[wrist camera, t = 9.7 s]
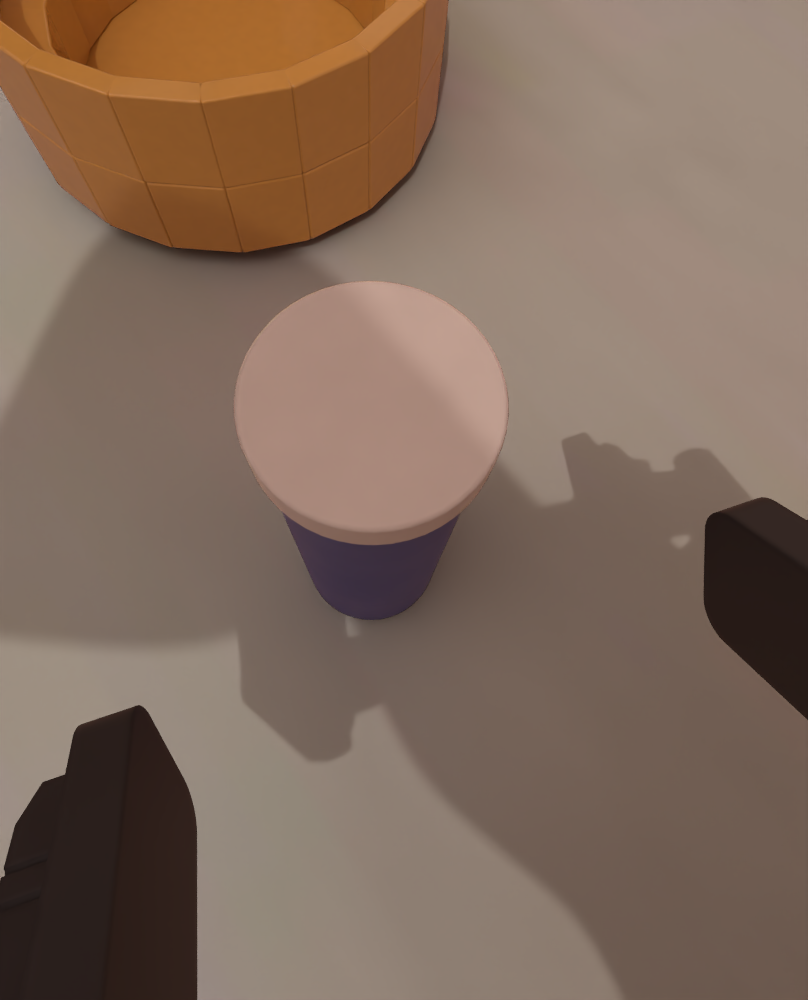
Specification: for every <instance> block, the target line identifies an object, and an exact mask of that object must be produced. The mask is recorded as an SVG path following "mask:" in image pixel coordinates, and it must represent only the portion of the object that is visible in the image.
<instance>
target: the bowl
mask: <svg viewBox="0 0 808 1000" xmlns="http://www.w3.org/2000/svg"><path fill="white" fill-rule="evenodd" d="M448 1H449V0H0V88H1V89H2V91H3V93H4V95H5V96H6V98H7V100H8V101H9V103H10V105H11V106H12V108H13V110H14V111H15V113H16V115H17V116H18V118H19V120H20V121H21V123H22V125H23V127H24V128H25V130H26V132H27V133H28V135H29V137H30V138H31V140H32V142H33V143H34V145H35V147H36V148H37V150H38V151H39V153H40V155H41V156H42V158H43V160H44V161H45V163H46V165H47V166H48V168H49V169H50V171H51V173H52V174H53V176H54V178H55V179H56V181H57V183H58V184H59V185H60V186H61V187H62V188H63V189H64V190H66V191H67V192H68V193H69V194H71V195H72V196H73V197H75V198H76V199H77V200H78V201H80V202H81V203H82V204H84V205H85V206H86V207H87V208H89V209H90V210H91V211H93V212H94V213H95V214H96V215H98V216H99V217H100V218H102V219H103V220H104V221H105V222H107V223H109V224H110V225H111V226H114V227H116V228H119V229H122V230H125V231H127V232H130V233H133V234H136V235H138V236H141V237H144V238H146V239H149V240H152V241H155V242H157V243H160V244H163V245H166V246H168V247H171V248H172V247H175V248H185V249H198V250H212V251H225V252H239V253H240V252H242V251H243V252H250V251H256V250H261V249H266V248H271V247H276V246H281V245H287V244H292V243H297V242H302V241H307V240H310V238H315V237H317V236H319V235H321V234H323V233H325V232H327V231H329V230H331V229H333V228H335V227H337V226H339V225H341V224H343V223H345V222H347V221H349V220H351V219H353V218H355V217H357V216H359V215H361V214H363V213H365V212H367V211H368V210H369V209H372V208H373V207H374V206H375V205H376V204H377V203H378V202H379V201H380V200H381V199H382V198H383V197H384V196H385V195H386V194H387V193H388V192H389V191H390V190H391V189H392V188H393V187H394V186H395V185H396V184H397V183H398V182H399V181H400V180H401V179H402V178H403V177H404V176H405V175H406V174H407V173H408V172H409V171H410V170H411V168H412V167H413V166H414V164H415V162H416V160H417V158H418V156H419V154H420V151H421V149H422V147H423V145H424V143H425V141H426V139H427V137H428V135H429V132H430V130H431V128H432V126H433V124H434V122H435V118H436V111H437V101H438V92H439V83H440V74H441V65H442V56H443V47H444V38H445V29H446V20H447V11H448Z"/></svg>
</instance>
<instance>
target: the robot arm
mask: <svg viewBox="0 0 808 1000" xmlns="http://www.w3.org/2000/svg"><path fill="white" fill-rule="evenodd" d="M704 605H705V610H706V613H707V616H708V618H709V621H710V623H711V625H712V626H713V628H714V630H715V631H716V633H717V634H718V635H719V637H720V638H721V639H722V640H723V641H724V642H725V643H726V644H727V645H728V646H729V647H730V648H731V649H732V650H733V651H734V652H736V653H737V654H738V655H739V656H740V657H741V658H742V659H743V660H744V661H745V662H746V663H747V664H748V665H749V666H751V667H752V668H753V669H754V670H755V671H756V672H757V673H758V674H759V675H760V676H761V677H762V678H763V679H765V680H766V681H767V682H768V683H769V684H770V685H771V686H772V687H773V688H774V689H775V690H776V691H777V692H778V693H780V694H781V695H782V696H783V697H784V698H785V699H786V700H787V701H788V702H789V703H790V704H791V705H792V706H794V707H795V708H796V709H797V710H798V711H799V712H800V713H801V714H802V715H803V716H804V717H805V718H806V719H807V720H808V520H805V519H803V518H802V517H800V516H799V515H797V514H795V513H794V512H792V511H790V510H789V509H787V508H785V507H784V506H782V505H780V504H779V503H777V502H775V501H774V500H772V499H769V498H763V497H761V498H757V499H754V500H751V501H748V502H745V503H742V504H739V505H736V506H733V507H730V508H727V509H724V510H722V511H719V512H716V513H713V514H711V515H710V516H709V517H708V519H707V521H706V525H705V555H704ZM4 870H5V876H4V877H2V878H1V880H0V1000H197V825H196V817H195V811H194V806H193V802H192V798H191V795H190V792H189V789H188V787H187V784H186V782H185V780H184V778H183V776H182V774H181V772H180V771H179V769H178V767H177V765H176V763H175V761H174V759H173V758H172V756H171V754H170V752H169V750H168V748H167V746H166V745H165V743H164V741H163V739H162V737H161V735H160V733H159V732H158V730H157V728H156V726H155V724H154V722H153V721H152V719H151V717H150V715H149V713H148V712H147V711H146V709H145V708H144V707H142V706H140V705H138V706H135V707H132V708H129V709H126V710H123V711H120V712H117V713H114V714H111V715H108V716H105V717H102V718H99V719H96V720H93V721H90V722H87V723H84V724H81V725H79V726H78V727H77V728H76V730H75V732H74V735H73V739H72V744H71V749H70V754H69V759H68V763H67V768H66V773H65V775H62V776H59V777H57V778H54V779H51V780H48V781H45V782H43V783H42V784H41V786H40V787H39V789H38V790H37V792H36V794H35V795H34V797H33V798H32V800H31V801H30V803H29V804H28V806H27V808H26V809H25V811H24V812H23V814H22V815H21V817H20V818H19V820H18V822H17V823H16V825H15V828H14V832H13V835H12V839H11V843H10V847H9V850H8V854H7V858H6V862H5V865H4Z"/></svg>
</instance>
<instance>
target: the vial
mask: <svg viewBox="0 0 808 1000" xmlns="http://www.w3.org/2000/svg"><path fill="white" fill-rule="evenodd" d="M508 417H509V407H508V393H507V387H506V382H505V378H504V375H503V372H502V368H501V366H500V364H499V362H498V359H497V357H496V355H495V353H494V351H493V350H492V348H491V346H490V345H489V343H488V341H487V340H486V338H485V337H484V336H483V335H482V333H481V332H480V331H479V330H478V328H477V327H476V326H475V325H474V324H473V323H472V322H471V321H470V320H469V319H468V318H467V317H466V316H465V315H464V314H462V313H461V312H460V311H458V310H457V309H456V308H454V307H453V306H452V305H450V304H448V303H447V302H445V301H443V300H442V299H440V298H438V297H436V296H434V295H432V294H429V293H427V292H425V291H422V290H420V289H417V288H413V287H410V286H406V285H402V284H397V283H391V282H380V281H359V282H350V283H344V284H338V285H334V286H331V287H327V288H324V289H321V290H318V291H316V292H313V293H311V294H309V295H306V296H304V297H303V298H301V299H299V300H297V301H296V302H294V303H292V304H291V305H289V306H288V307H287V308H285V309H284V310H282V311H281V312H280V313H278V314H277V315H276V316H275V317H274V318H273V319H272V320H271V321H270V322H269V323H268V324H267V325H266V326H265V327H264V329H263V330H262V331H261V332H260V334H259V335H258V336H257V337H256V339H255V340H254V342H253V344H252V345H251V347H250V349H249V350H248V352H247V354H246V356H245V358H244V361H243V363H242V365H241V368H240V371H239V374H238V378H237V382H236V387H235V395H234V420H235V426H236V432H237V436H238V439H239V442H240V445H241V449H242V451H243V453H244V455H245V457H246V459H247V462H248V464H249V466H250V468H251V470H252V472H253V474H254V476H255V478H256V480H257V482H258V483H259V485H260V486H261V488H262V489H263V491H264V492H265V494H266V495H267V496H268V497H269V499H270V500H271V501H272V502H273V503H274V504H275V505H276V506H277V507H278V508H279V509H280V510H281V511H282V513H283V515H284V517H285V519H286V522H287V524H288V526H289V528H290V531H291V533H292V535H293V537H294V540H295V542H296V544H297V546H298V549H299V551H300V553H301V555H302V558H303V560H304V562H305V564H306V567H307V569H308V571H309V573H310V576H311V578H312V580H313V582H314V584H315V586H316V588H317V590H318V591H319V593H320V594H321V596H322V597H323V598H324V599H325V600H326V601H327V602H328V603H329V604H330V605H331V606H332V607H334V608H335V609H337V610H338V611H340V612H342V613H344V614H346V615H348V616H351V617H354V618H359V619H367V620H375V619H383V618H388V617H391V616H394V615H397V614H399V613H400V612H402V611H404V610H406V609H407V608H409V607H410V606H411V605H412V604H414V603H415V602H416V601H417V600H418V599H419V597H420V596H421V595H422V594H423V592H424V591H425V589H426V587H427V585H428V583H429V581H430V579H431V577H432V574H433V572H434V570H435V568H436V566H437V563H438V561H439V559H440V557H441V554H442V552H443V550H444V548H445V546H446V543H447V541H448V539H449V537H450V535H451V532H452V530H453V528H454V526H455V523H456V521H457V519H458V517H459V515H460V512H461V511H463V510H464V509H465V508H466V507H467V506H468V505H469V504H470V503H471V501H472V500H473V499H474V498H475V497H476V495H477V494H478V493H479V491H480V490H481V488H482V487H483V485H484V483H485V482H486V480H487V479H488V477H489V475H490V473H491V471H492V469H493V467H494V465H495V462H496V460H497V458H498V456H499V454H500V451H501V449H502V446H503V442H504V439H505V435H506V431H507V424H508Z"/></svg>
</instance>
